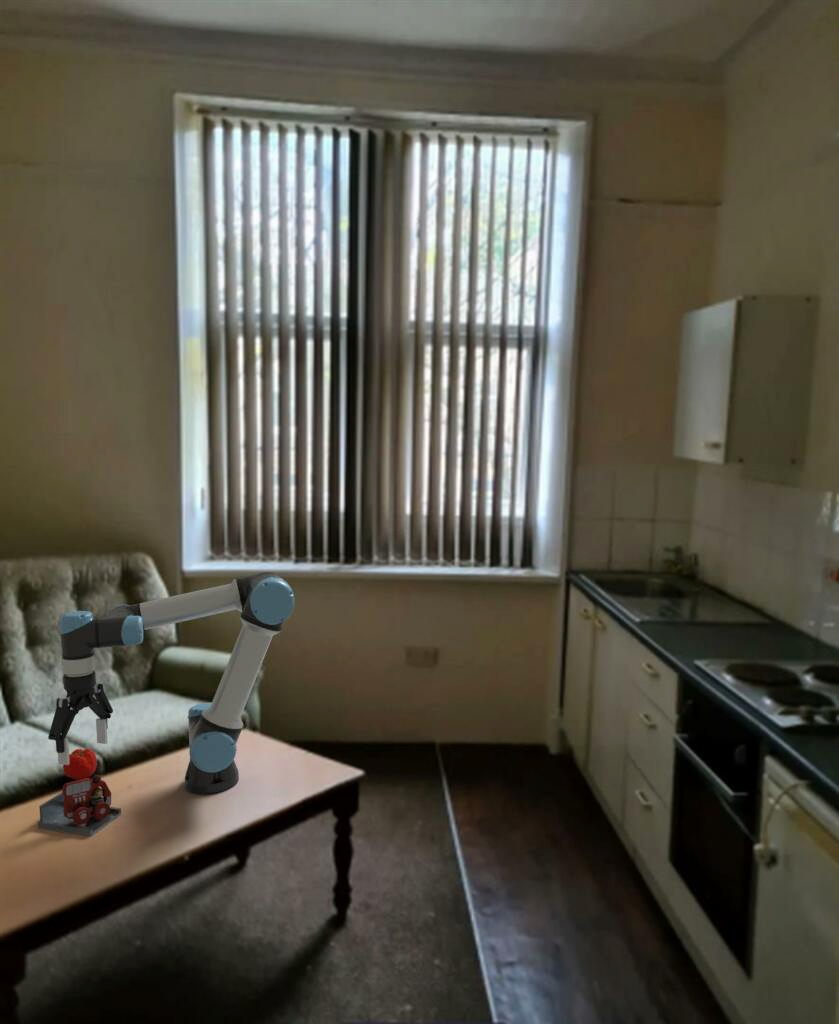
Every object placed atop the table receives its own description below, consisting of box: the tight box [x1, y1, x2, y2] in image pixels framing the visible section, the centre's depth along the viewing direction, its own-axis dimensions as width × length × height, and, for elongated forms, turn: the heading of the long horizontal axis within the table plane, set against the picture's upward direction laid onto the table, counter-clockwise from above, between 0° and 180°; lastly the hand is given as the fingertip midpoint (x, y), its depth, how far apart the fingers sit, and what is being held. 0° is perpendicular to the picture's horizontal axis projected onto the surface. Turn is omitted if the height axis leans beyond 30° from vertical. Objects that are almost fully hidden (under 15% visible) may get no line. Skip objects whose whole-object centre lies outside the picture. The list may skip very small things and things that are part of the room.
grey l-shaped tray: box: [37, 791, 122, 837], centre depth 195 cm, size 16×12×6 cm
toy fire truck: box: [62, 774, 112, 825], centre depth 194 cm, size 7×12×10 cm, turn 139°
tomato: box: [62, 748, 98, 781], centre depth 222 cm, size 9×9×8 cm
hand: (83, 753), depth 193 cm, fingers open, 13 cm apart
